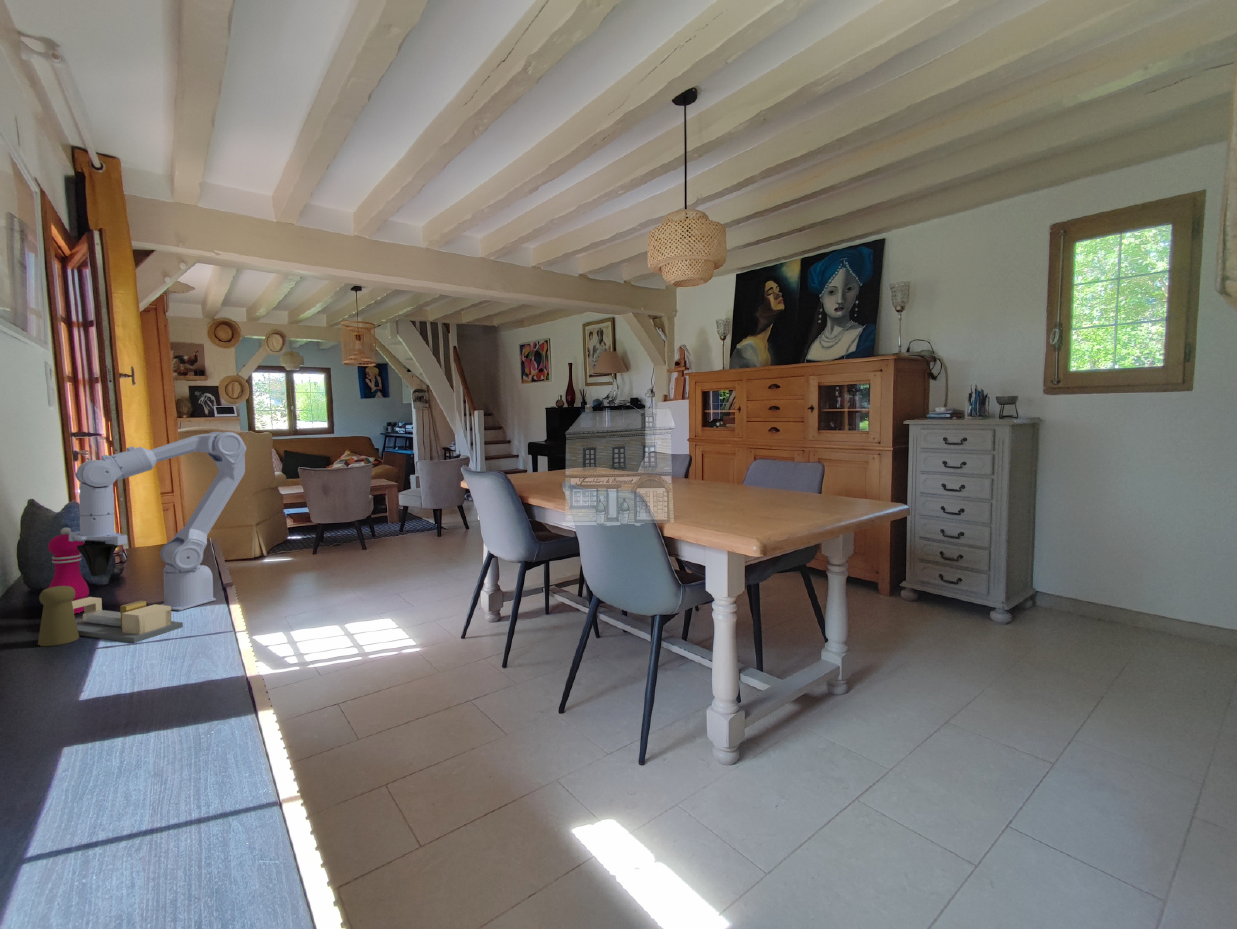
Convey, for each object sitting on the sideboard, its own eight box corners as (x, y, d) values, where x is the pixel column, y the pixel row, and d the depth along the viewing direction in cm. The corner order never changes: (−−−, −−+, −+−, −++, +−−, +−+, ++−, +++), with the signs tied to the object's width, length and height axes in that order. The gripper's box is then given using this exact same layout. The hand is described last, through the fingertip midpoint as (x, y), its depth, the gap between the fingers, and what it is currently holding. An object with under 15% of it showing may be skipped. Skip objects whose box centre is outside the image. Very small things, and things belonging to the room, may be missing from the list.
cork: (38, 648, 112) (37, 592, 111) (36, 641, 116) (35, 587, 115) (80, 640, 116) (79, 587, 116) (77, 633, 120) (76, 581, 120)
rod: (101, 617, 127) (100, 596, 127) (160, 624, 123) (160, 602, 123) (80, 622, 123) (79, 601, 123) (141, 630, 119) (140, 608, 119)
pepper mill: (63, 618, 129) (60, 530, 128) (38, 616, 131) (35, 529, 130) (97, 609, 136) (95, 526, 135) (74, 607, 138) (71, 524, 137)
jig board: (97, 616, 131) (96, 594, 131) (182, 626, 125) (182, 604, 125) (44, 630, 122) (43, 607, 121) (134, 642, 116) (133, 618, 115)
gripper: (51, 514, 125) (53, 576, 126) (101, 518, 122) (102, 581, 122) (88, 511, 132) (90, 569, 133) (136, 514, 128) (137, 574, 129)
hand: (98, 574), depth 128 cm, fingers closed
